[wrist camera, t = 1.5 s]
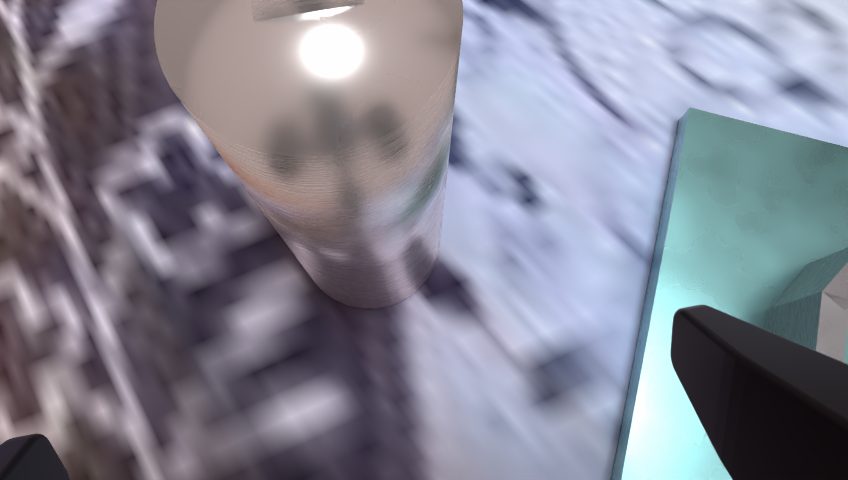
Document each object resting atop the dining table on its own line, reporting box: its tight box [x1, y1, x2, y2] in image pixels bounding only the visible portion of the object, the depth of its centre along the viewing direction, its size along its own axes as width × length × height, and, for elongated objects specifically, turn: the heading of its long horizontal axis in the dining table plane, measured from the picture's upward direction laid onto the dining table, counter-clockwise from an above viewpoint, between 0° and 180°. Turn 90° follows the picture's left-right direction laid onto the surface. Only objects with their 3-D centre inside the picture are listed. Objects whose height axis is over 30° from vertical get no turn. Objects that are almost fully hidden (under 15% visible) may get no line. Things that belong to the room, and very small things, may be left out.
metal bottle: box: [154, 0, 463, 309], centre depth 16 cm, size 8×5×13 cm, turn 11°
